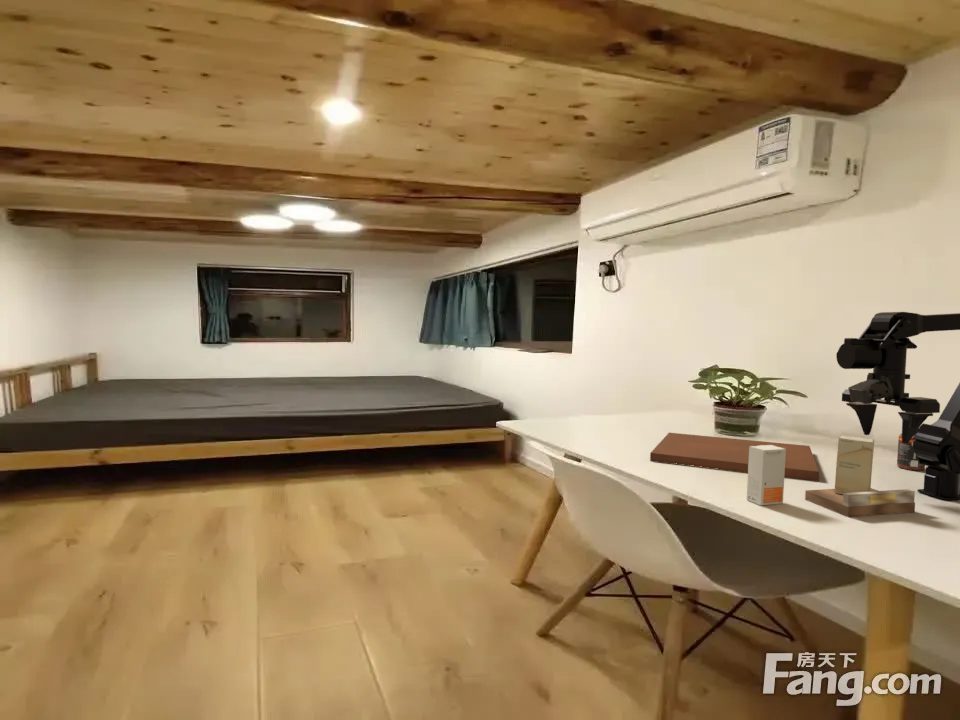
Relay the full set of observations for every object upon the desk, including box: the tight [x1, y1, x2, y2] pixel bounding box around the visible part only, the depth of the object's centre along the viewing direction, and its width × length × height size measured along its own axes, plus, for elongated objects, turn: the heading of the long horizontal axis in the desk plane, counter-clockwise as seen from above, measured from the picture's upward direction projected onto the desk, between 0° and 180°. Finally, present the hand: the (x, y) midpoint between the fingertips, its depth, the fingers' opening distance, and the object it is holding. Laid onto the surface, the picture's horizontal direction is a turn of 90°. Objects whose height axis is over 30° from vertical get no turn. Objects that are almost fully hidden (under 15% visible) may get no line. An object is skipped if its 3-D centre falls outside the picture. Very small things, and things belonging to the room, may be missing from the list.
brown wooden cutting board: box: [649, 432, 820, 482], centre depth 157 cm, size 40×3×33 cm
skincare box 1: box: [746, 445, 786, 506], centre depth 117 cm, size 6×4×12 cm
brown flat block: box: [804, 487, 916, 518], centre depth 115 cm, size 16×11×4 cm
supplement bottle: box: [896, 427, 926, 472], centre depth 146 cm, size 6×6×11 cm
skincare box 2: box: [834, 434, 875, 494], centre depth 116 cm, size 6×4×12 cm
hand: (885, 439), depth 121 cm, fingers open, 9 cm apart
